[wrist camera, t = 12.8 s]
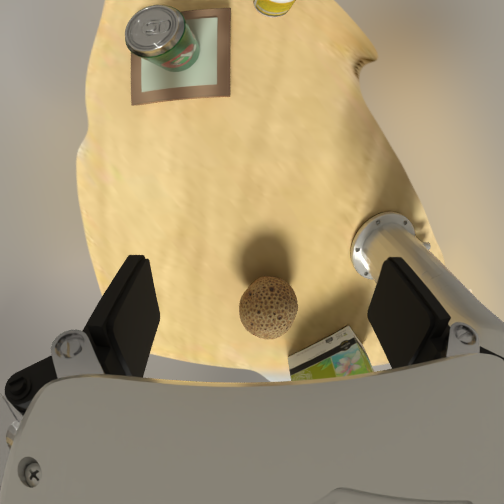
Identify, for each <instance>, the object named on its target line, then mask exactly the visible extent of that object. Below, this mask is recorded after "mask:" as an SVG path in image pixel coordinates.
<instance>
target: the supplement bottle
mask: <svg viewBox="0 0 504 504" xmlns="http://www.w3.org/2000/svg"><path fill="white" fill-rule="evenodd" d="M294 2H295V0H254V6H255V8H256V10H257V11H258V12H259V13H261V14H262V15H264V16H267V17H280V16H282V15H284V14H286V13H287V12H288V11H289V9H290V8H291V6H292V5H293V4H294Z"/></svg>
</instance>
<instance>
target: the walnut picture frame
mask: <svg viewBox="0 0 504 504" xmlns="http://www.w3.org/2000/svg"><path fill="white" fill-rule="evenodd" d="M181 14H182V15H183V16H184V18H185V20H186V22H187V24H188V25H189V27H190V29H191V31H192V32H193V34H194V36H195V38H196V40H197V42H198V44H199V47H200V54H199V57H198V59H197V61H196V62H195V63H194V64H193V65H192V66H191V67H190V68H188V69H186V70H184V71H180V72H170V71H167V70H165V69H163V68H161V67H159V66H157V65H155V64H153V63H151V62H149V61H147V60H145V59H143V58H141V57H139V56H137V55H135V54H133V53H132V52H131V101H132V105H143V104H149V103H157V102H164V101H173V100H183V99H195V98H210V97H230V24H231V8H220V9H203V10H192V11H183V12H181Z"/></svg>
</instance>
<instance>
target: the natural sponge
mask: <svg viewBox="0 0 504 504" xmlns="http://www.w3.org/2000/svg"><path fill="white" fill-rule="evenodd" d="M297 311H298V304H297V298H296V295H295V292H294V290H293V289H292V287H291V286H290V285H289V284H288V283H287V282H286V281H284V280H282V279H280V278H276V277H271V276H264V277H260V278H258V279H257V280H255V281H254V282H253V283H252V284H251V285H250V286H249V287H248V289H247V290H246V291H245V292H244V294H243V295H242V297H241V300H240V306H239V312H240V319H241V322H242V324H243V325H244V327H245V328H246V330H247V331H249V332H250V333H251V334H253V335H255V336H257V337H259V338H263V339H275V338H277V337H280V336H281V335H283V334H284V333H286V332H287V331H288V329H289V328H290V327H291V325H292V323H293V321H294V319H295V317H296V314H297Z"/></svg>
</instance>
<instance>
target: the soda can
mask: <svg viewBox="0 0 504 504" xmlns="http://www.w3.org/2000/svg"><path fill="white" fill-rule="evenodd" d="M125 41H126V45H127V47H128V49H129V50H130V51H131V52H132V53H133V54H135V55H137V56H139V57H141V58H143V59H145V60H147V61H149V62H151V63H153V64H155V65H157V66H159V67H161V68H163V69H165V70H167V71H170V72H180V71H184V70H186V69H188V68H190V67H191V66H192V65H193V64H194V63H195V62H196V61H197V59H198V57H199V54H200V47H199V44H198V42H197V40H196V38H195V36H194V34H193V32H192V31H191V29H190V27H189V25H188V24H187V22H186V20H185V18H184V16H183V15H182V14H181V12H179V11H178V10H177V9H175V8H173V7H170V6H163V5H154V6H149V7H146V8H144V9H142V10H140V11H139V12H137V13H136V14H135V15H134V16H133V17H132V18H131V19H130V21H129V22H128V24H127V27H126V30H125Z"/></svg>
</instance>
